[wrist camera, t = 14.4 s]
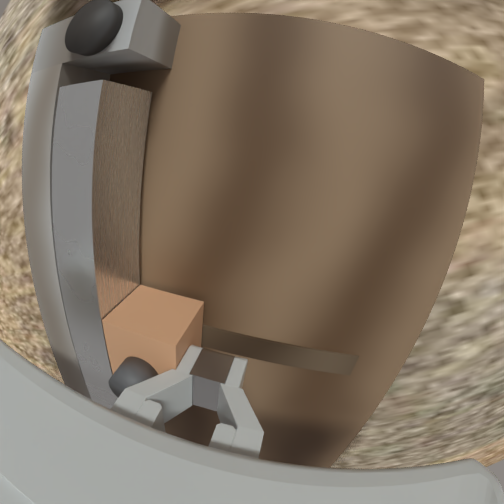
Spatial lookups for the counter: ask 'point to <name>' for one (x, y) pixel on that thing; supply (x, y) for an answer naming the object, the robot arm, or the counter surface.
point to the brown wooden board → (273, 199)
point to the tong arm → (97, 212)
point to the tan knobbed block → (150, 335)
